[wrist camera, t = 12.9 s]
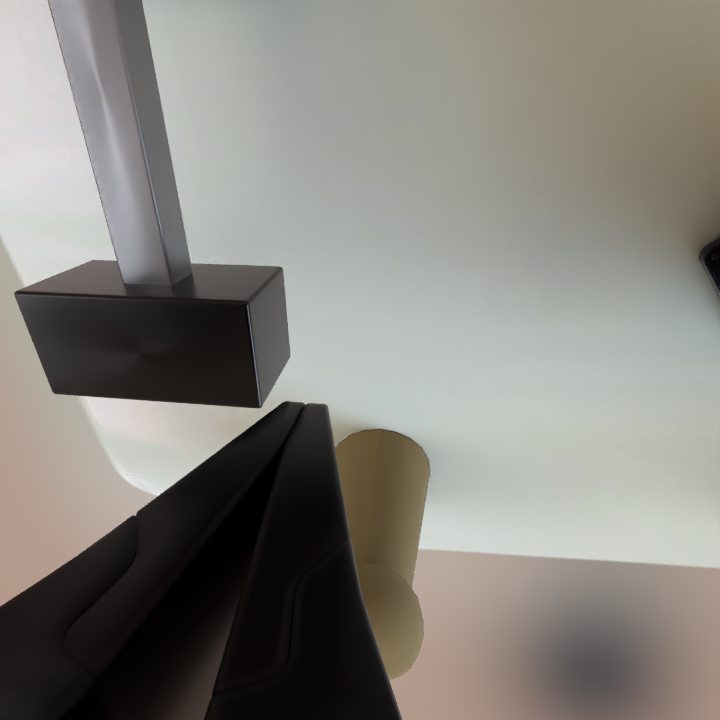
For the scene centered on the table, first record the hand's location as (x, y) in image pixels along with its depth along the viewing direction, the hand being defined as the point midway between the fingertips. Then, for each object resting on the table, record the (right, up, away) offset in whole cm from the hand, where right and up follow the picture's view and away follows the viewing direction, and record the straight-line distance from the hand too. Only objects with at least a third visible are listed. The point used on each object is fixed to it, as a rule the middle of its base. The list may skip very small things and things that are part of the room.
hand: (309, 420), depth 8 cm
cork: (+2, -5, +19) cm, 19 cm away
